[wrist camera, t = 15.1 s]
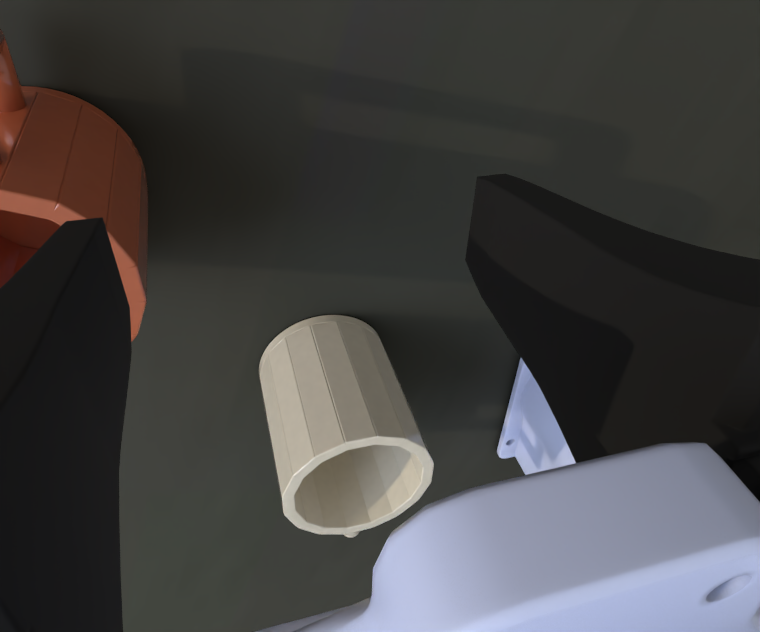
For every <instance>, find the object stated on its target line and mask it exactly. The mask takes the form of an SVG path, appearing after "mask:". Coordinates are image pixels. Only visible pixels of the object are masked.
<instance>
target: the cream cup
mask: <svg viewBox="0 0 760 632" xmlns="http://www.w3.org/2000/svg"><path fill="white" fill-rule="evenodd" d="M259 378H260V384H261V392H262V397H263V403H264V408H265V414H266V419H267V425H268V430H269V436H270V441H271V447H272V452H273V458H274V463H275V469H276V474H277V480H278V485H279V491H280V496H281V502H282V507H283V513H284V515H285V516H286V517H287V518H288V519H289V520H290V521H291V522H292V523H293V524H294V525H295V526H296V527H298V528H300V529H303V530H306V531H309V532H313V533H316V534H343V535H344V536H346V537H349V538H352V537H355V536H357V535H358V534H359V532H360V531H361V530H365V529H370V528H372V527H375V526H378V525H380V524H382V523H384V522H386V521H388V520H390V519H393V518H395V517H397V516H398V515H400V514H401V513H402V512H404V511H405V510H406V509H408V508H409V507H410V506H412V505H413V504H414V503H415V502H417V501H418V500H419V499H420V497H421V496H422V495H423V493H424V492H425V490H426V489H427V487H428V486H429V485H430V483H431V480H432V474H433V467H434V462H433V459H432V457H431V455H430V452H429V450H428V448H427V445H426V443H425V441H424V438H423V436H422V434H421V431H420V429H419V426H418V424H417V422H416V419H415V417H414V415H413V412H412V410H411V408H410V405H409V403H408V401H407V398H406V396H405V393H404V391H403V389H402V386H401V384H400V382H399V379H398V377H397V375H396V372H395V370H394V368H393V365H392V363H391V360H390V358H389V356H388V353H387V351H386V349H385V347H384V346H383V343H382V341H381V339H380V337H379V335H378V334H377V332H376V331H375V330H374V329H373V328H372V327H371V326H369V325H368V324H367V323H365V322H363V321H361V320H359V319H356V318H353V317H349V316H343V315H323V316H317V317H312V318H309V319H306V320H303V321H300V322H298V323H296V324H294V325H292V326H290V327H288V328H287V329H285V330H284V331H282V332H281V333H280V334H279V335H278V336H276V337H275V338H274V339H273V340H272V342H271V343H270V344H269V345H268V347H267V348H266V349H265V351H264V353H263V355H262V358H261V361H260V365H259Z"/></svg>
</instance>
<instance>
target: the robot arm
mask: <svg viewBox="0 0 760 632" xmlns="http://www.w3.org/2000/svg"><path fill="white" fill-rule="evenodd" d="M466 263H467V265H468V267H469V270H470V272H471V275H472V277H473V279H474V282H475V284H476V286H477V288H478V290H479V292H480V294H481V296H482V298H483V300H484V301H485V303H486V305H487V306H488V308H489V309H490V311H491V312H492V314H493V316H494V317H495V319H496V320H497V322H498V323H499V325H500V326H501V328H502V329H503V331H504V333H505V334H506V336H507V337H508V339H509V340H510V342H511V343H512V345H513V346H514V348H515V349H516V351H517V352H518V354H519V355H520V357H521V358H520V362H519V366H518V370H517V374H516V378H515V382H514V385H513V389H512V393H511V397H510V401H509V405H508V409H507V413H506V417H505V421H504V425H503V429H502V433H501V437H500V440H499V444H498V448H497V453H498V455H499V457H500V458H509V457H514V456H515V457H516V459H517V460H518V462H519V464H520V466H521V468H522V469H523V471H524V473H525V475H523V476H519V477H515V478H510V479H506V480H502V481H498V482H493V483H489V484H485V485H480V486H476V487H472V488H469V489H466V490H464V491H461V492H458V493H456V494H453V495H451V496H448V497H446V498H443V499H440V500H438V501H435V502H433V503H430V504H428V505H426V506H424V507H423V508H422V509H421V510H419V511H418V512H417V513H415V514H414V515H413V516H412V517H410V518H409V519H408V520H406V521H405V522H404V523H403V524H401V525H400V526H399V527H397V528H396V529H395V530H394V531H392V533H391V534H390V536H389V538H388V539H387V541H386V543H385V545H384V547H383V549H382V551H381V553H380V555H379V557H378V559H377V561H376V564H375V566H374V568H373V580H372V597H370V598H367V599H365V600H363V601H360V602H358V603H356V604H354V605H351V606H347V607H343V608H339V609H336V610H332V611H328V612H324V613H321V614H317V615H313V616H309V617H306V618H302V619H298V620H295V621H291V622H287V623H283V624H280V625H276V626H272V627H268V628H265V629H261V630H257V631H253V632H760V260H757V259H752V258H747V257H742V256H737V255H733V254H728V253H724V252H719V251H715V250H710V249H706V248H702V247H698V246H695V245H691V244H687V243H684V242H680V241H677V240H674V239H671V238H667V237H664V236H661V235H657V234H654V233H651V232H648V231H645V230H642V229H640V228H637V227H634V226H632V225H629V224H626V223H624V222H621V221H618V220H616V219H613V218H611V217H608V216H606V215H603V214H601V213H598V212H596V211H594V210H591V209H589V208H587V207H584V206H582V205H580V204H578V203H575V202H573V201H571V200H568V199H566V198H564V197H562V196H560V195H557V194H555V193H553V192H551V191H548V190H546V189H544V188H542V187H539V186H537V185H535V184H532V183H530V182H527V181H525V180H522V179H520V178H517V177H514V176H511V175H507V174H499V175H489V176H480V177H477V182H476V189H475V196H474V203H473V210H472V217H471V224H470V231H469V238H468V246H467V253H466ZM130 362H131V322H130V306H129V303H128V300H127V296H126V293H125V290H124V286H123V283H122V280H121V276H120V273H119V270H118V266H117V263H116V260H115V256H114V253H113V250H112V247H111V243H110V240H109V237H108V233H107V230H106V227H105V223H104V220H103V217H100V218H91V219H82V220H72V221H66V222H65V223H63V224H62V225H61V226H60V227H59V228H58V229H57V230H56V231H55V232H54V233H53V234H52V236H51V237H50V238H49V239H48V240H47V241H46V242H45V243H44V244H43V245H42V246H41V247H40V248H39V250H38V251H37V252H36V253H35V254H34V255H33V256H32V257H31V258H30V259H29V260H28V261H27V262H26V263H25V264H24V265H23V266H22V267H21V268H20V269H19V270H18V271H17V272H16V273H15V274H14V276H13V277H12V278H11V279H10V280H9V281H8V282H6V283H5V284H4V285H3V286H2V287H1V288H0V632H123V624H122V599H121V575H120V533H119V464H120V449H121V441H122V432H123V424H124V415H125V406H126V398H127V389H128V380H129V371H130Z"/></svg>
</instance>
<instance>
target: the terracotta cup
mask: <svg viewBox="0 0 760 632" xmlns="http://www.w3.org/2000/svg"><path fill="white" fill-rule="evenodd" d="M100 217H103V220H104V223H105V227H106V230H107V233H108V237H109V240H110V243H111V247H112V250H113V253H114V256H115V260H116V263H117V266H118V270H119V273H120V276H121V280H122V283H123V286H124V290H125V293H126V296H127V300H128V303H129V306H130V322H131V342H132V341H133V340H134V339H135V338H136V336H137V335H138V333H139V329H140V325H141V322H142V318H143V314H144V310H145V307H146V301H147V245H148V188H147V179H146V172H145V168H144V165H143V162H142V159H141V157H140V155H139V152H138V150H137V148H136V147H135V145H134V144H133V142H132V140H131V139H130V138H129V136H128V135H127V134H126V133H125V131H124V130H123V129H122V128H121V127H120V126H119V125H118V124H117V123H116V122H115V121H114V120H113V119H112V118H110V117H109V116H108V115H106V114H105V113H104V112H103V111H101V110H100V109H98V108H96V107H95V106H93V105H91V104H90V103H88V102H86V101H84V100H82V99H80V98H77V97H75V96H72V95H70V94H67V93H64V92H61V91H56V90H52V89H48V88H41V87H31V86H21V84H20V81H19V78H18V75H17V72H16V69H15V67H14V64H13V61H12V58H11V55H10V52H9V49H8V46H7V43H6V40H5V37H4V34H3V32H2V30H1V29H0V288H1V287H2V286H3V285H4V284H5V283H6V282H8V281H9V280H10V279H11V278H12V277H13V276H14V274H15V273H16V272H17V271H18V270H19V269H20V268H21V267H22V266H23V265H24V264H25V263H26V262H27V261H28V260H29V259H30V258H31V257H32V256H33V255H34V254H35V253H36V252H37V251H38V250H39V248H40V247H41V246H42V245H43V244H44V243H45V242H46V241H47V240H48V239H49V238H50V237H51V236H52V234H53V233H54V232H55V231H56V230H57V229H58V228H59V227H60V226H61V225H62V224H63V223H65V222H66V221H72V220H82V219H91V218H100Z"/></svg>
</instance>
